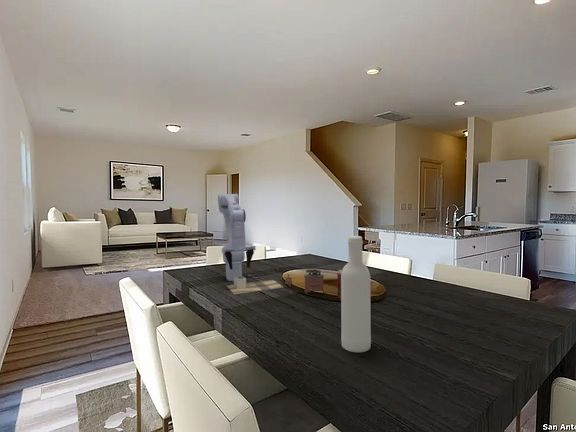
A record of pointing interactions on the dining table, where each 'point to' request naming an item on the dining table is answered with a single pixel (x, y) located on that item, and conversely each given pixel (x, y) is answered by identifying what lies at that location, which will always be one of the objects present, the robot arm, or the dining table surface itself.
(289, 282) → the awl
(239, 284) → the block
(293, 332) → the dining table surface
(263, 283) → the subfloor panel
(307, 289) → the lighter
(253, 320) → the dining table surface
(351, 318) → the bottle
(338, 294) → the canned food
